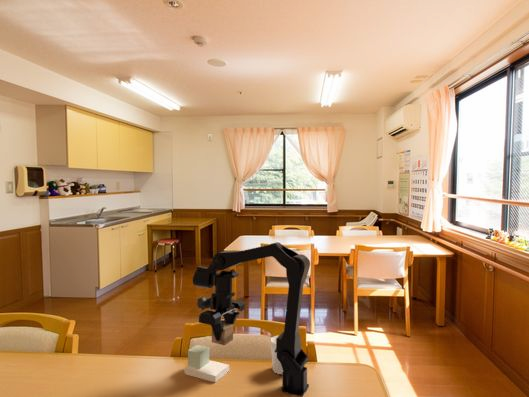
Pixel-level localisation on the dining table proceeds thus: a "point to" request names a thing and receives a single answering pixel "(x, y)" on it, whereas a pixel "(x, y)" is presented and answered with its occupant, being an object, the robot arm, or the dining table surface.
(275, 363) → the white cup
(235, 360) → the dining table surface
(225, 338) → the walnut cube
